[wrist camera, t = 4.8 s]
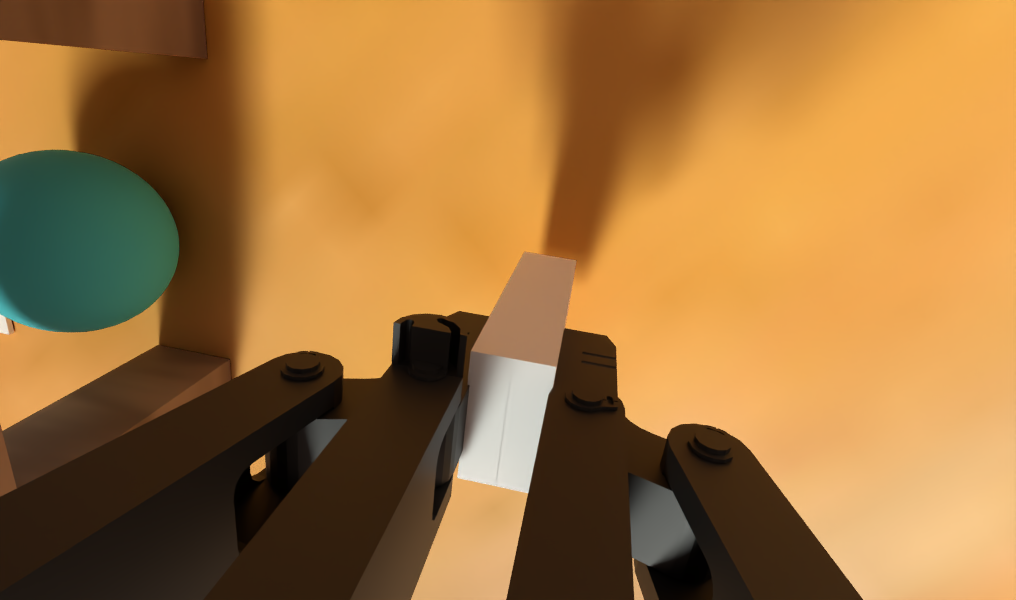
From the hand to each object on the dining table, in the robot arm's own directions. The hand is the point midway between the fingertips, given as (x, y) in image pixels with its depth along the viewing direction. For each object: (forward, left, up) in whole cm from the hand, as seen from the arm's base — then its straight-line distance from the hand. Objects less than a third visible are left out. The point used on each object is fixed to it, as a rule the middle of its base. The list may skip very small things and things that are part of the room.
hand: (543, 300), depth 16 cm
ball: (0, -14, +1) cm, 14 cm away
